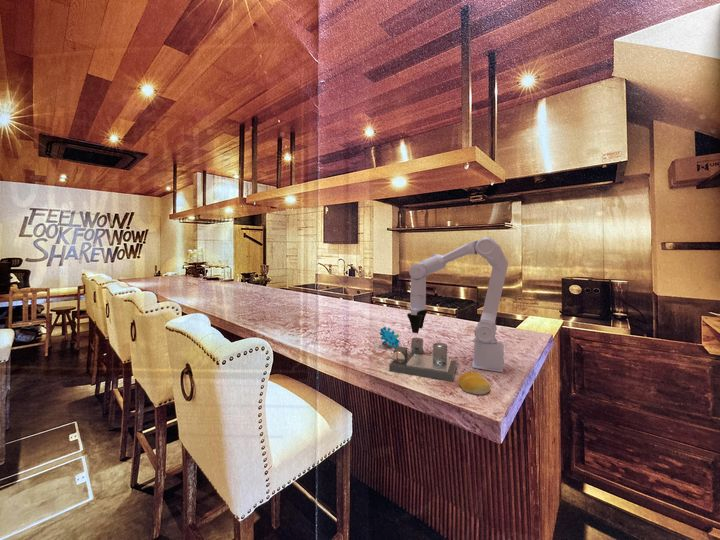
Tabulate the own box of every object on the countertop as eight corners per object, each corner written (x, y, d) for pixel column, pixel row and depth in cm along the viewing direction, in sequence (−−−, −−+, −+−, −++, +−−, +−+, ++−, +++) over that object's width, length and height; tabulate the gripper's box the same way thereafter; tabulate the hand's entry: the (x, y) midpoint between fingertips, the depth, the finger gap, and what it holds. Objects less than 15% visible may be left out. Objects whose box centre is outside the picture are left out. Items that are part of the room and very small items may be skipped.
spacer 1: (423, 353, 112) (424, 338, 112) (421, 357, 108) (421, 341, 108) (412, 352, 114) (412, 337, 114) (410, 355, 110) (410, 340, 110)
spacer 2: (447, 361, 96) (448, 343, 96) (445, 366, 92) (446, 347, 92) (434, 359, 98) (434, 342, 98) (431, 363, 94) (432, 345, 94)
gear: (388, 347, 115) (377, 326, 121) (379, 355, 118) (369, 334, 123) (406, 345, 122) (395, 325, 128) (397, 352, 125) (387, 333, 131)
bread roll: (465, 396, 79) (465, 381, 79) (455, 381, 88) (455, 368, 88) (496, 396, 79) (496, 382, 79) (482, 382, 88) (483, 369, 88)
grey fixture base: (456, 366, 99) (456, 350, 99) (452, 381, 87) (453, 363, 87) (399, 358, 107) (399, 343, 107) (388, 370, 95) (388, 353, 95)
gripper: (412, 292, 118) (411, 325, 119) (402, 296, 105) (402, 333, 106) (429, 293, 115) (428, 326, 116) (422, 298, 102) (421, 336, 103)
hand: (417, 330), depth 111 cm, fingers open, 7 cm apart
